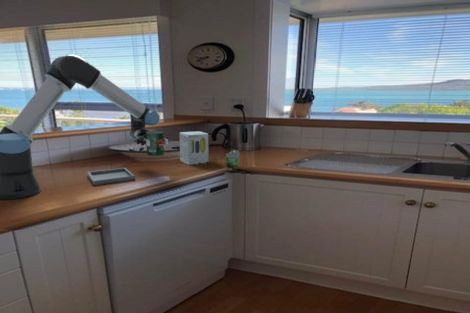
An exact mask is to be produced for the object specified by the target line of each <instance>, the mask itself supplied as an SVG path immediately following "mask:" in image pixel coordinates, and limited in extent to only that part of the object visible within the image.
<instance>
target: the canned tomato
mask: <svg viewBox="0 0 470 313" xmlns="http://www.w3.org/2000/svg"><path fill="white" fill-rule="evenodd" d="M163 136H164V131H160V130H148V132H146V139H148V140H150V146H146V156H148V157H162V156H164V155H165V150H164V145H165V144H163Z"/></svg>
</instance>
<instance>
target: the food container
mask: <svg viewBox="0 0 470 313" xmlns="http://www.w3.org/2000/svg"><path fill="white" fill-rule="evenodd" d="M240 156H241V153H240V151H239V150H237V149H230V151H228V153H227V152H226V153H225V159H226V160H225V162H226V163H225V164H226V168H225V170H226V172H236V171H238V169H239V167H238V166H239V157H240Z"/></svg>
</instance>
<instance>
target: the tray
mask: <svg viewBox="0 0 470 313" xmlns="http://www.w3.org/2000/svg"><path fill="white" fill-rule="evenodd" d="M86 174H87V177H88V179H89V180H90V182H91V183H92V185H93V186H99V185H107V184H115V183H121V182H128V181H129V182H130V181H136V175H135V174H133V173H132V172H131V171H130V170H128V168H126V167H118V168H113V169H111V168H109V169H104V170H103V169H101V170H93V171H87V173H86Z"/></svg>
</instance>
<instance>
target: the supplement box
mask: <svg viewBox="0 0 470 313" xmlns="http://www.w3.org/2000/svg"><path fill="white" fill-rule="evenodd" d="M179 161H180V162H182V163H184V164H186V165H199V163H201V164H207V163H206V162H208V163H209V133H207V132H204V131H199V130H198V131H181V132H179Z"/></svg>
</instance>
